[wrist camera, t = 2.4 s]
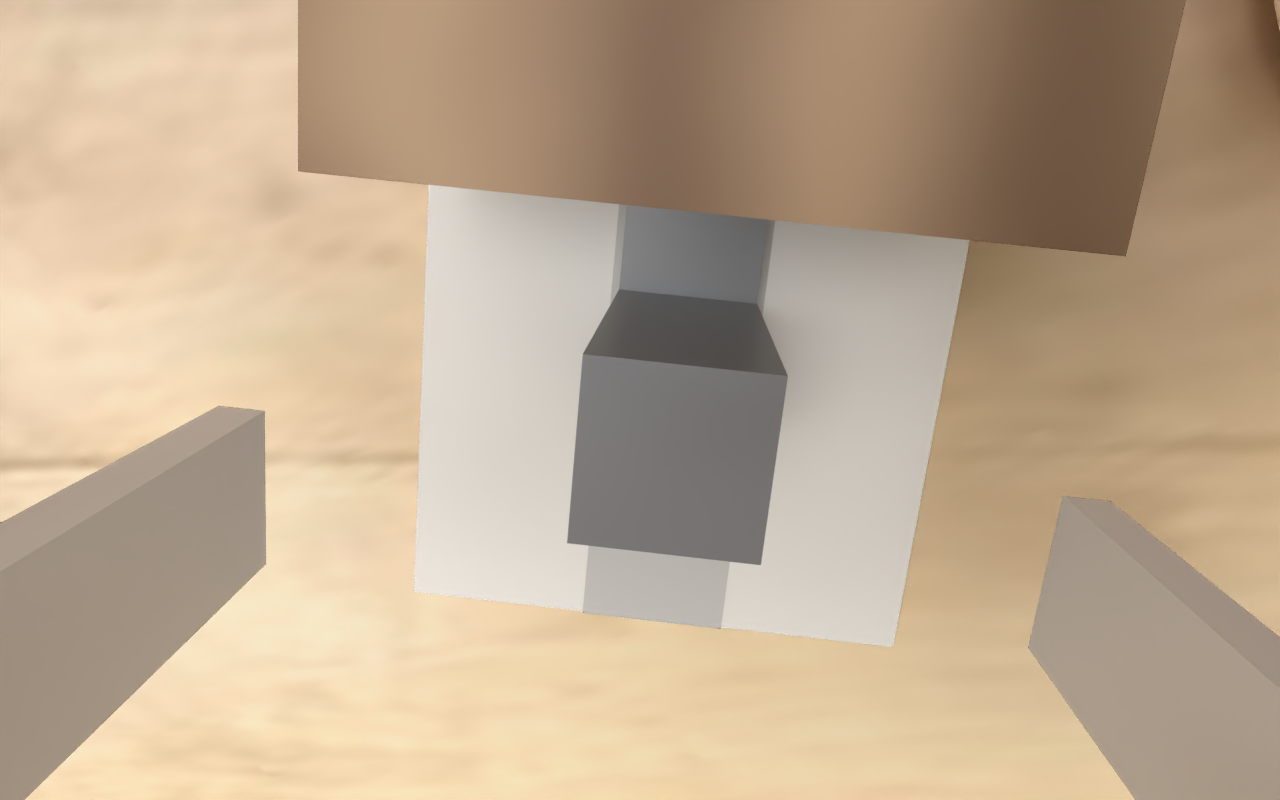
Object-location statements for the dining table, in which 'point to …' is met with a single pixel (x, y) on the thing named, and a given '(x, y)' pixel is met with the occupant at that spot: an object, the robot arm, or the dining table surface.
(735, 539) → the grey l-shaped piece
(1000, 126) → the tunnel
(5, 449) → the dining table surface
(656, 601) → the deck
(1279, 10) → the lidded jar
